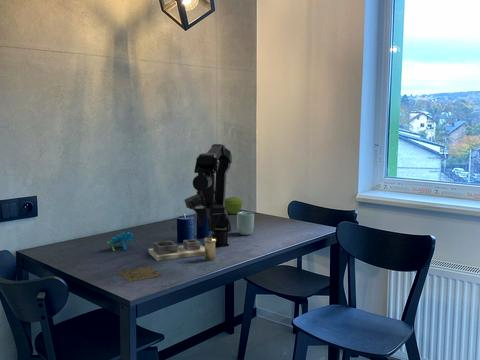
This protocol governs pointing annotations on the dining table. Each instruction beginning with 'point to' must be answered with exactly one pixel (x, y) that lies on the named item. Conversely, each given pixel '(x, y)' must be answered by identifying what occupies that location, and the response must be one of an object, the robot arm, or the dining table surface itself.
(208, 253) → the cylinder
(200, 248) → the board
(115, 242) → the blue green toy animal
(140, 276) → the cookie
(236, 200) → the apple
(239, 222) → the cup
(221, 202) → the robot arm
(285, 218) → the dining table surface
